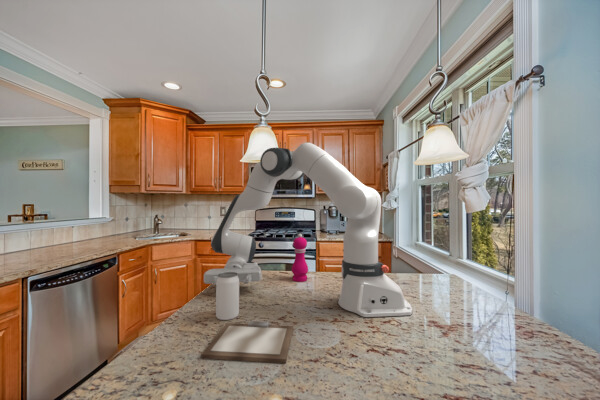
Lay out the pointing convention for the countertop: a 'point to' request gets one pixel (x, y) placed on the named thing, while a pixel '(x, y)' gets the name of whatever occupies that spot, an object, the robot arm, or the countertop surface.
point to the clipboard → (251, 342)
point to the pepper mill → (299, 260)
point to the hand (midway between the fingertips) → (231, 281)
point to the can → (227, 296)
